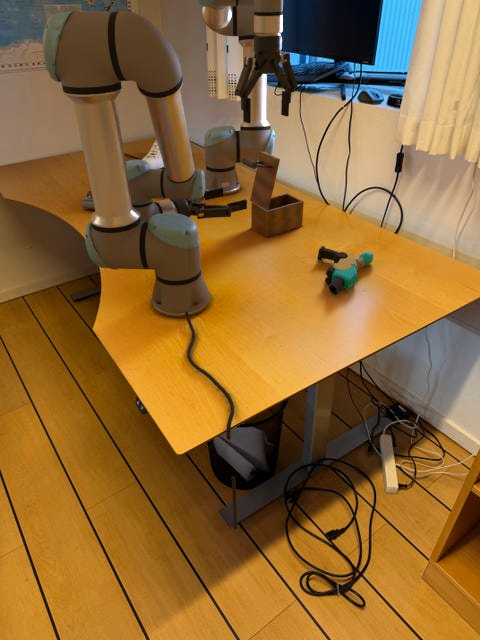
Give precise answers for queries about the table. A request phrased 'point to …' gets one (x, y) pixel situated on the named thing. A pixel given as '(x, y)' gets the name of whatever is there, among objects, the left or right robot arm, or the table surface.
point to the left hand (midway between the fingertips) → (234, 197)
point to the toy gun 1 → (88, 201)
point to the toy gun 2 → (343, 268)
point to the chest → (277, 215)
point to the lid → (263, 178)
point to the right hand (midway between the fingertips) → (266, 118)
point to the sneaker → (154, 157)
